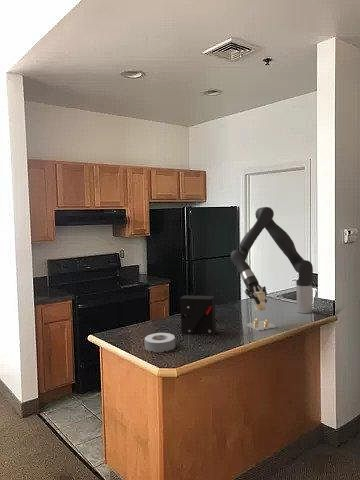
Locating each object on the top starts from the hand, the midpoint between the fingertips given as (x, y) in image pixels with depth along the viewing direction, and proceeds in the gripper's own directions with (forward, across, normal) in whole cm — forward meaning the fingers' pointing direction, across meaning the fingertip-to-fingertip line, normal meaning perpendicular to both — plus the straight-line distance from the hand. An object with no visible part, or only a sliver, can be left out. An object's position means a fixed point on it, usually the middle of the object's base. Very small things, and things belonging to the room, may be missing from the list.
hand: (262, 303), depth 225 cm
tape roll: (+9, -62, +12) cm, 64 cm away
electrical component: (+2, -34, +18) cm, 39 cm away
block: (+2, 0, +4) cm, 5 cm away
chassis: (+9, 0, +11) cm, 14 cm away
